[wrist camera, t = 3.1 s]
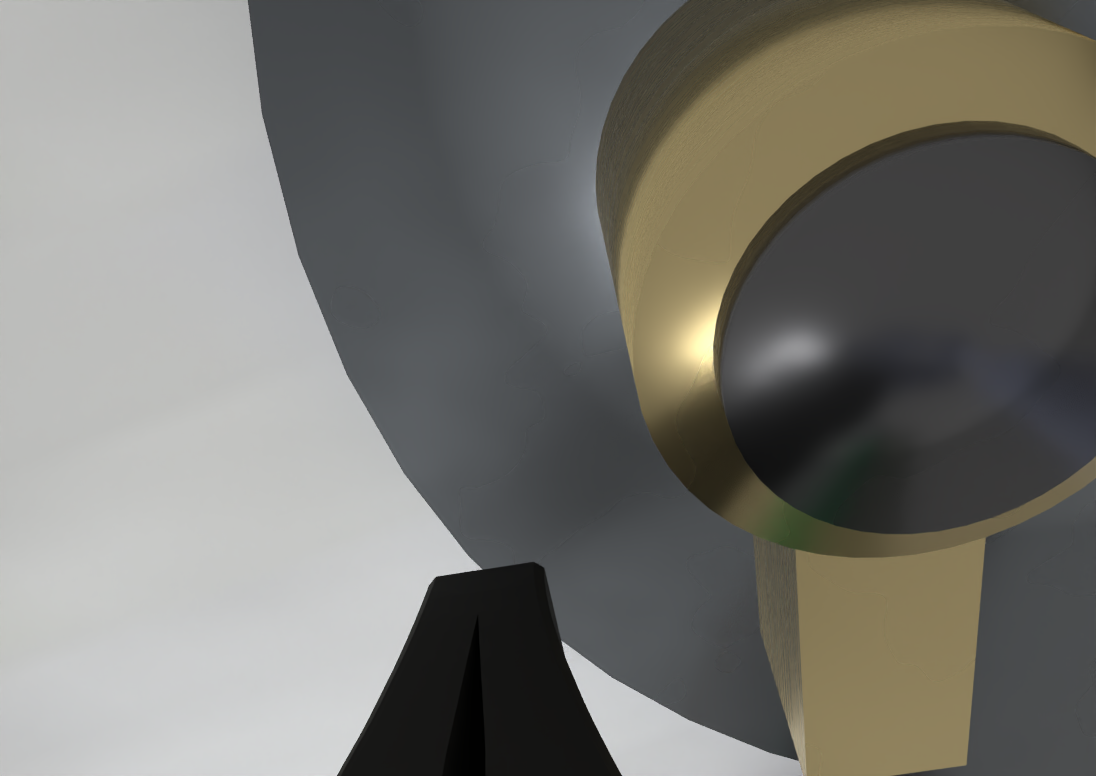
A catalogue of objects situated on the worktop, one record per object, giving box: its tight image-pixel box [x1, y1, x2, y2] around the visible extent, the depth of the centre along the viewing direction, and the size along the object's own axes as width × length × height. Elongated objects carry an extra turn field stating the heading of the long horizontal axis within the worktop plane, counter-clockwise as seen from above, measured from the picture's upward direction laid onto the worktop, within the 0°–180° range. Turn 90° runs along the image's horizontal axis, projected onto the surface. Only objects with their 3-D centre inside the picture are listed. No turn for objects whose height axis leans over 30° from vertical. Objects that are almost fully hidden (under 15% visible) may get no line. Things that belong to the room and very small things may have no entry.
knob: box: [595, 0, 1096, 776], centre depth 10 cm, size 8×4×4 cm, turn 10°
